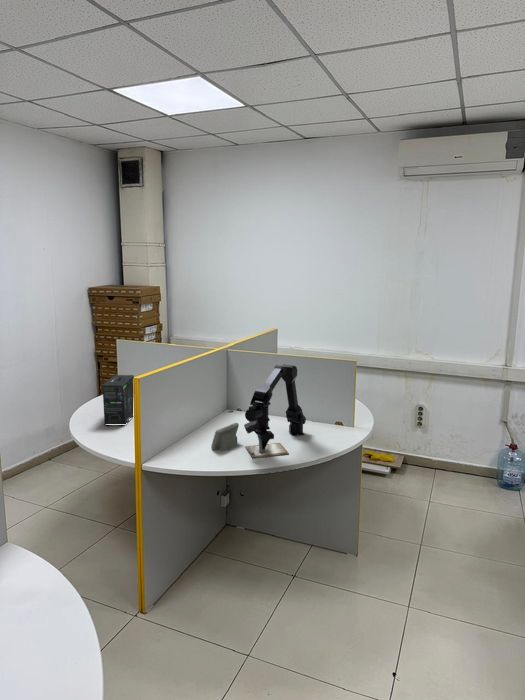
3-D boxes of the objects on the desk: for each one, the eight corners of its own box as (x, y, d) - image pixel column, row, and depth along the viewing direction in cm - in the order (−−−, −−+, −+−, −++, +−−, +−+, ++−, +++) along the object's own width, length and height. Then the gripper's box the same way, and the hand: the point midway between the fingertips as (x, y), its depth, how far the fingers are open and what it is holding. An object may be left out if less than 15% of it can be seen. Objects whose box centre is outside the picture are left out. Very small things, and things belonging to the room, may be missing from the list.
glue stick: (264, 450, 231) (264, 432, 229) (266, 453, 228) (266, 434, 226) (258, 451, 230) (257, 433, 228) (259, 453, 227) (259, 435, 225)
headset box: (125, 426, 267) (123, 381, 262) (104, 426, 267) (101, 380, 262) (136, 413, 289) (134, 371, 284) (116, 413, 289) (114, 371, 284)
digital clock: (233, 439, 247) (232, 420, 245) (244, 444, 240) (244, 424, 239) (206, 447, 237) (206, 427, 235) (217, 453, 230) (217, 431, 228)
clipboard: (279, 443, 242) (279, 440, 241) (289, 454, 228) (289, 451, 228) (245, 447, 237) (245, 444, 236) (252, 458, 223) (252, 455, 223)
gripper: (241, 411, 232) (241, 442, 235) (250, 423, 214) (250, 456, 217) (263, 409, 235) (263, 439, 238) (274, 421, 217) (274, 454, 220)
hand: (262, 447), depth 228 cm, fingers open, 4 cm apart
